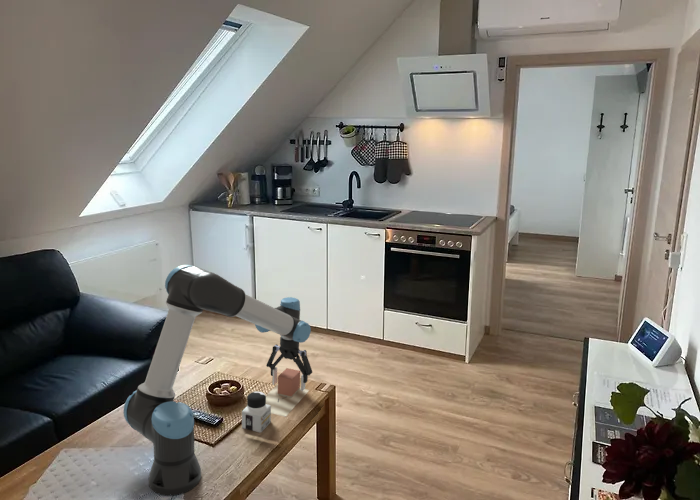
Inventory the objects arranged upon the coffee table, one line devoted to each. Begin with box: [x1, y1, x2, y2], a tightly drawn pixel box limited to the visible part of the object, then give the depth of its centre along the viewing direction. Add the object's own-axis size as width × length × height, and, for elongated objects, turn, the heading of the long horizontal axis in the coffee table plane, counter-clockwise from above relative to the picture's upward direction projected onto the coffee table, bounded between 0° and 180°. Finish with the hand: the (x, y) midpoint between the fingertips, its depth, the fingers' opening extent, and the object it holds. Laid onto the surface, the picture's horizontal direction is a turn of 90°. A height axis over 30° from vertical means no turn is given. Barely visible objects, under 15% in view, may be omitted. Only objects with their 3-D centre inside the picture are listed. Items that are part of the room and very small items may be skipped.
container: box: [241, 391, 272, 433], centre depth 192 cm, size 8×8×13 cm
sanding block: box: [277, 367, 301, 398], centre depth 216 cm, size 8×6×8 cm
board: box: [265, 383, 310, 418], centre depth 211 cm, size 22×14×1 cm, turn 161°
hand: (288, 386), depth 216 cm, fingers open, 12 cm apart
